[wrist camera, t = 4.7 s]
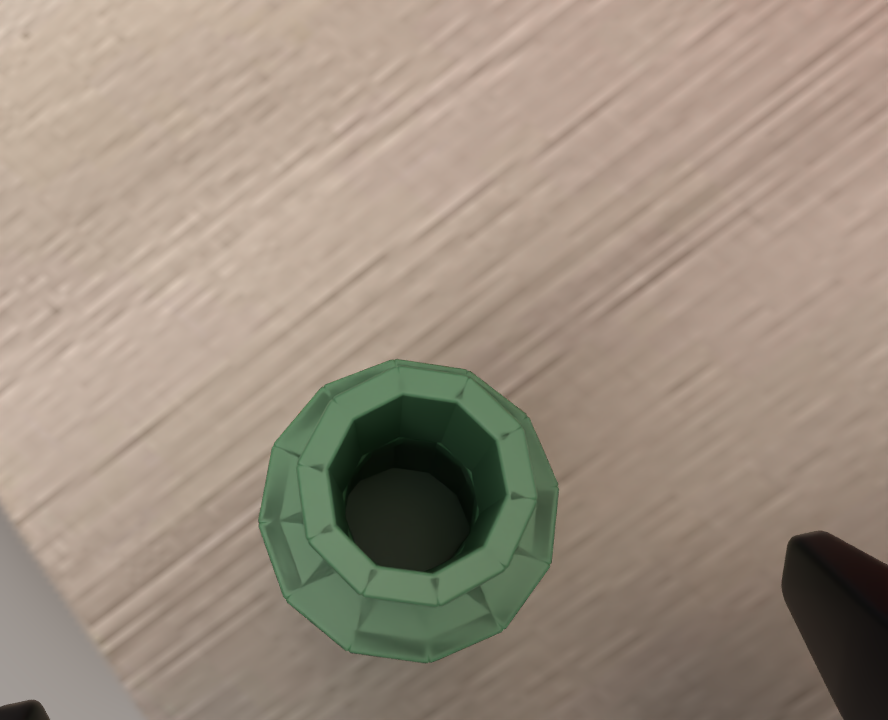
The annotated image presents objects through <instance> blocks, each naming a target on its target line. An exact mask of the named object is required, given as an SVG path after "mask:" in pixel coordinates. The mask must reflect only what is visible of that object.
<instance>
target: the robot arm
mask: <svg viewBox="0 0 888 720" xmlns="http://www.w3.org/2000/svg"><path fill="white" fill-rule="evenodd" d="M781 585H782V593H783V596H784V600H785V602H786V604H787V606H788V608H789V610H790V613H791V615H792V617H793V619H794V621H795V623H796V625H797V627H798V629H799V631H800V633H801V635H802V637H803V639H804V641H805V643H806V645H807V647H808V649H809V652H810V654H811V656H812V658H813V660H814V662H815V664H816V666H817V668H818V670H819V672H820V674H821V676H822V678H823V680H824V682H825V684H826V686H827V688H828V691H829V693H830V695H831V697H832V699H833V700H834V702H835V704H836V706H837V708H838V710H839V712H840V714H841V716H842V717H843V719H844V720H888V565H887V564H885V563H883V562H881V561H879V560H877V559H876V558H874V557H872V556H870V555H868V554H866V553H865V552H863V551H861V550H859V549H857V548H856V547H854V546H852V545H850V544H848V543H846V542H845V541H843V540H841V539H839V538H837V537H835V536H834V535H832V534H830V533H828V532H824V531H814V532H809V533H805V534H800V535H795V536H793V537H792V538H791V539H790V540H789V542H788V545H787V551H786V557H785V563H784V569H783V575H782V584H781ZM0 720H50V719H49V717H48V715H47V713H46V711H45V709H44V708H43V706H42V705H41V703H40V702H38V701H36V700H27V701H22V702H18V703H13V704H8V705H4V706H2V707H0Z"/></svg>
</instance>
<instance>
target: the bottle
mask: <svg viewBox="0 0 888 720" xmlns="http://www.w3.org/2000/svg"><path fill="white" fill-rule="evenodd" d="M558 494H559V488H558V482H557V480H556V478H555V476H554V473H553V471H552V469H551V466H550V464H549V462H548V459H547V457H546V455H545V453H544V450H543V448H542V446H541V443H540V441H539V439H538V436H537V434H536V432H535V430H534V427H533V425H532V423H531V420H530V418H529V417H527V415H526V413H524V412H523V411H522V410H520V409H519V408H518V407H517V406H515V405H514V404H513V403H511V402H510V401H509V400H507V399H506V398H505V397H503V396H502V395H501V394H500V393H498V392H497V391H496V390H494V389H493V388H492V387H490V386H489V385H488V384H487V383H485V382H484V381H483V380H481V379H480V378H479V377H477V376H476V375H475V374H473V373H472V372H471V371H468V370H466V369H461V368H454V367H447V366H440V365H434V364H427V363H420V362H413V361H407V360H400V359H395V360H389V361H386V362H384V363H381V364H378V365H376V366H373V367H370V368H368V369H365V370H363V371H360V372H357V373H355V374H352V375H349V376H347V377H344V378H341V379H339V380H336V381H333V382H331V383H328V384H326V385H324V387H321V388H320V389H319V391H318V392H317V393H316V394H315V395H314V396H313V398H312V399H311V400H310V401H309V402H308V404H307V405H306V406H305V407H304V408H303V409H302V411H301V412H300V413H299V414H298V415H297V417H296V418H295V419H294V420H293V421H292V422H291V424H290V425H289V426H288V427H287V428H286V430H285V431H284V432H283V433H282V434H281V435H280V437H279V438H278V439H277V440H276V441H275V443H274V446H273V447H272V450H271V456H270V461H269V466H268V471H267V477H266V482H265V487H264V492H263V498H262V503H261V508H260V513H259V519H258V522H259V529H260V532H261V535H262V537H263V540H264V543H265V546H266V549H267V552H268V555H269V557H270V560H271V563H272V566H273V569H274V572H275V574H276V577H277V580H278V583H279V586H280V589H281V591H282V594H283V597H284V598H285V599H286V601H287V603H289V604H290V605H291V606H292V607H293V608H295V609H296V610H297V611H298V612H299V613H301V614H302V615H303V616H304V617H305V618H307V619H308V620H309V621H310V622H311V623H313V624H314V625H315V626H316V627H318V628H319V629H320V630H321V631H322V632H324V633H325V634H326V635H327V636H328V637H330V638H331V639H332V640H333V641H334V642H336V643H337V644H338V645H339V646H341V647H342V648H343V649H344V650H345V651H349V652H350V653H355V654H362V655H369V656H376V657H384V658H391V659H398V660H405V661H412V662H420V663H429V662H430V663H432V662H435V661H437V660H439V659H442V658H444V657H446V656H448V655H451V654H453V653H455V652H457V651H460V650H462V649H464V648H467V647H469V646H471V645H473V644H476V643H478V642H480V641H483V640H485V639H487V638H489V637H492V636H494V635H496V634H499V633H501V632H502V631H503V629H506V628H507V627H508V625H509V624H510V622H511V621H512V620H513V618H514V617H515V615H516V614H517V613H518V611H519V610H520V608H521V607H522V606H523V604H524V603H525V601H526V600H527V599H528V597H529V596H530V594H531V593H532V592H533V590H534V589H535V587H536V586H537V585H538V583H539V582H540V580H541V579H542V578H543V576H544V575H545V573H546V572H547V571H548V569H549V568H550V564H551V562H552V554H553V544H554V534H555V524H556V514H557V504H558Z"/></svg>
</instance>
